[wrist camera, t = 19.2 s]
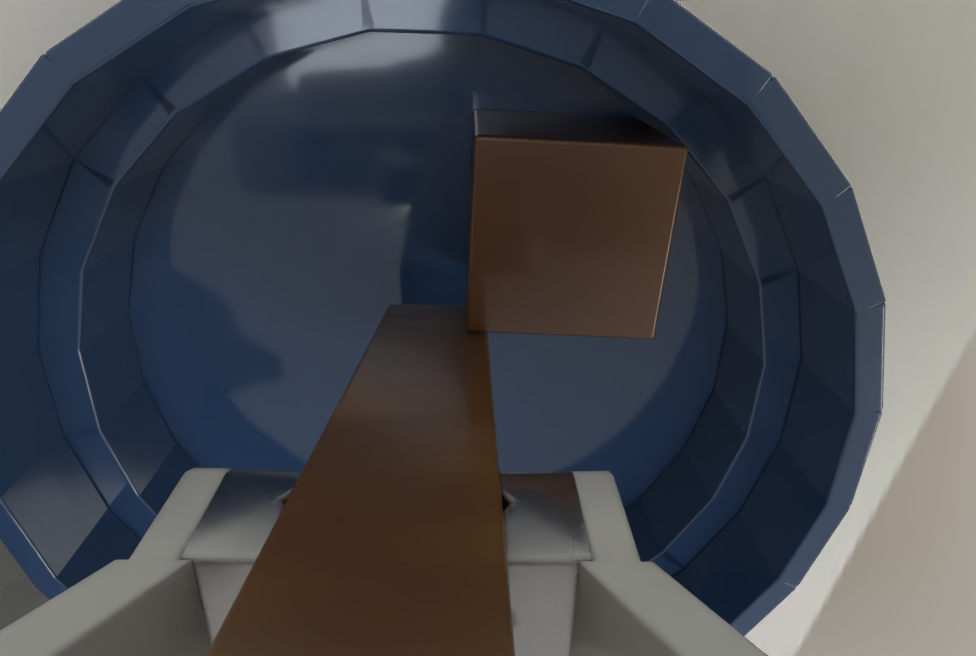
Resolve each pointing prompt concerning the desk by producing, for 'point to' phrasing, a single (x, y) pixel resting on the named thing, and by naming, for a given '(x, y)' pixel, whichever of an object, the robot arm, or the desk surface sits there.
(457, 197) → the bowl
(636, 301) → the block
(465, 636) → the stick
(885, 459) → the desk surface
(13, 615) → the coffeepot
